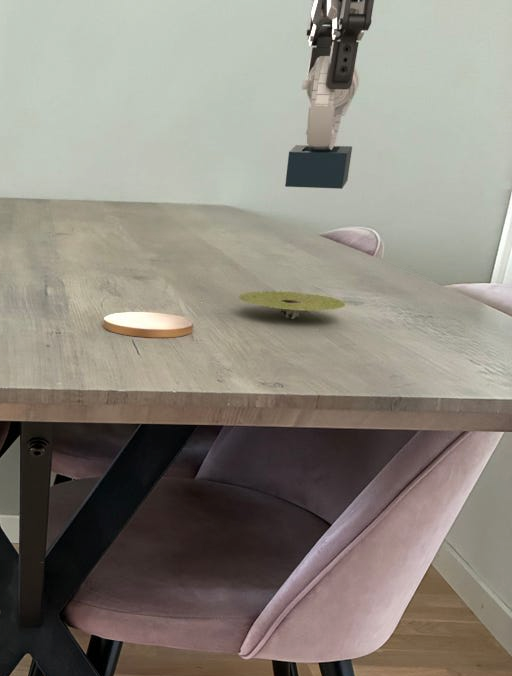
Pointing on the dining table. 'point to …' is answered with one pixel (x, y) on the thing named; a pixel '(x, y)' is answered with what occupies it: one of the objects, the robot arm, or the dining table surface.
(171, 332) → the coaster
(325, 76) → the watch
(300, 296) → the olive green disc
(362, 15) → the robot arm
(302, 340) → the dining table surface
